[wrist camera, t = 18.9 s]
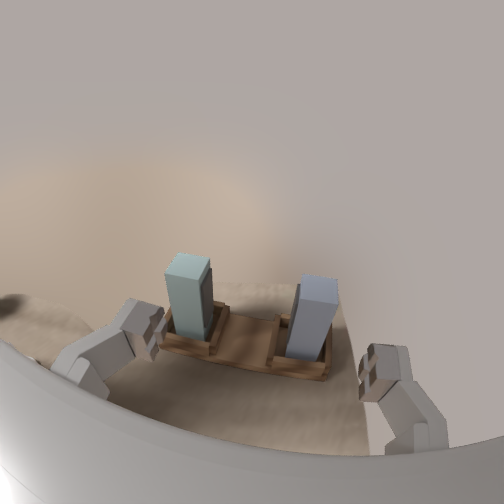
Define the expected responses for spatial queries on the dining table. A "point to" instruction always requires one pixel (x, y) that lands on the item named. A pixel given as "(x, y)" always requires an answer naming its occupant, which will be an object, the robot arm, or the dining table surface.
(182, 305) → the teal rectangular block
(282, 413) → the dining table surface
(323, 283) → the block
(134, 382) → the dining table surface
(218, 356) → the wooden double tray
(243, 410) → the dining table surface
